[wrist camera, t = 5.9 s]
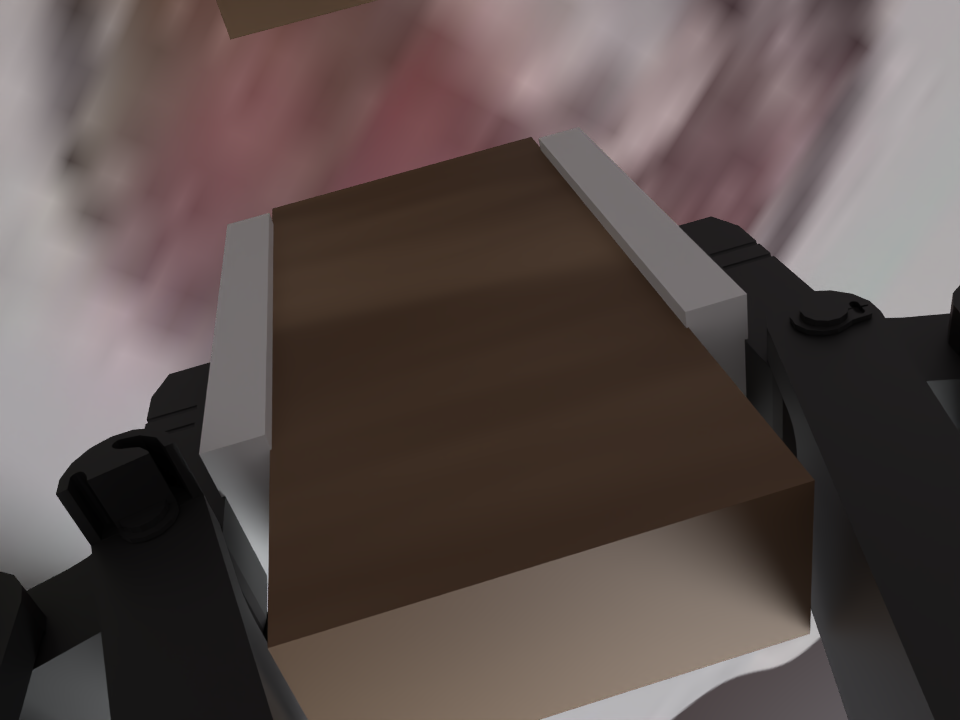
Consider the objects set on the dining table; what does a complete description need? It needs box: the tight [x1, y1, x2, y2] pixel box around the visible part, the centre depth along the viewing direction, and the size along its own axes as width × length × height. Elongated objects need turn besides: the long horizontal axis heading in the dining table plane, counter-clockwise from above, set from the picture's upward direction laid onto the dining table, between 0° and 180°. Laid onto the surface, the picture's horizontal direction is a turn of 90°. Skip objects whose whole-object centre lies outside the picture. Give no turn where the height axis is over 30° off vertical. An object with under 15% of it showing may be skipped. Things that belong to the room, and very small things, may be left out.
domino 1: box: [268, 137, 815, 720], centre depth 12 cm, size 2×5×10 cm, turn 101°
